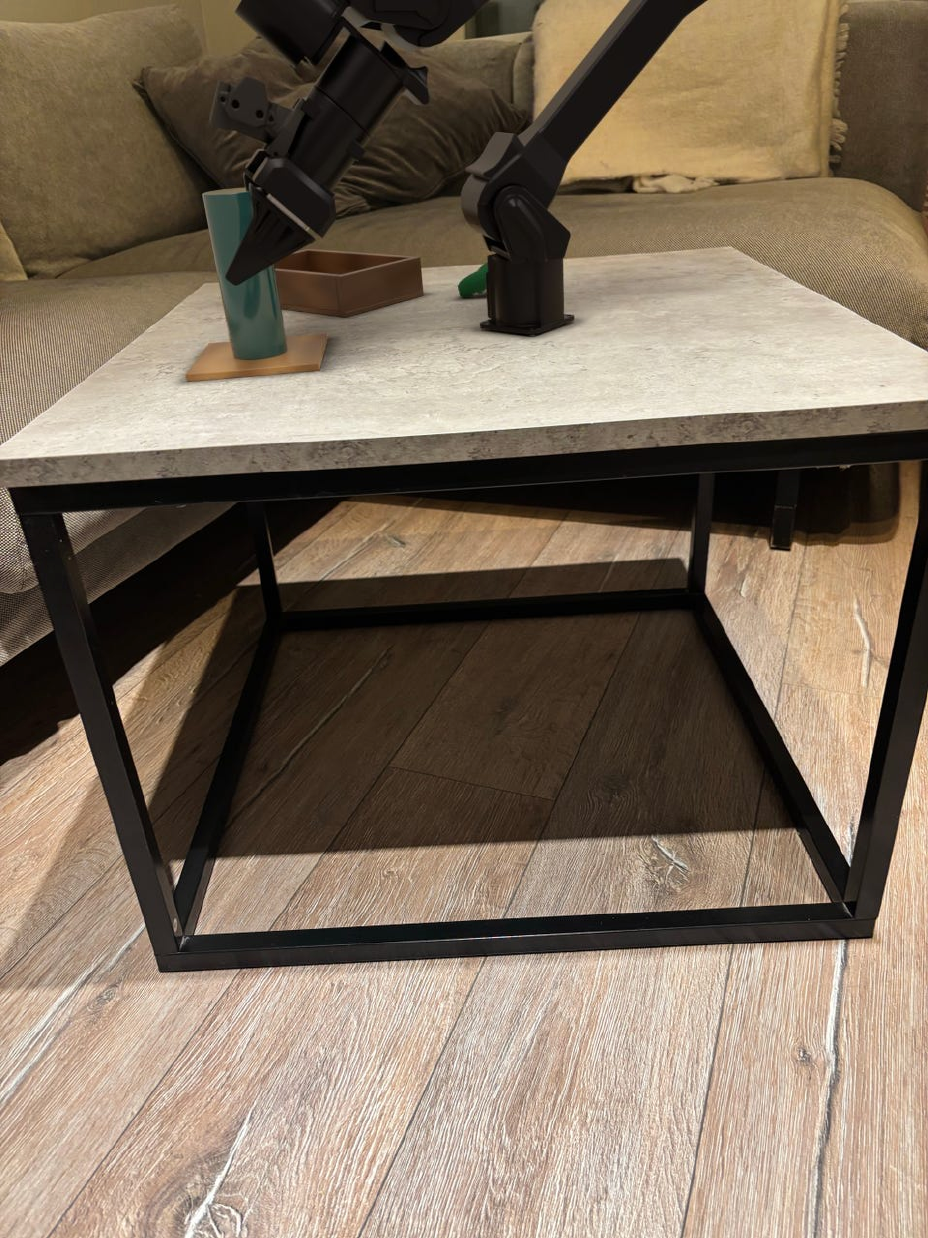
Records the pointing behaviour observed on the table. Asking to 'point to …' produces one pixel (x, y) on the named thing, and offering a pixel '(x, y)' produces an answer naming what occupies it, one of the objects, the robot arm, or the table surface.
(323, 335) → the mat
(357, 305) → the basket
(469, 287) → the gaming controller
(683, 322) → the table surface
